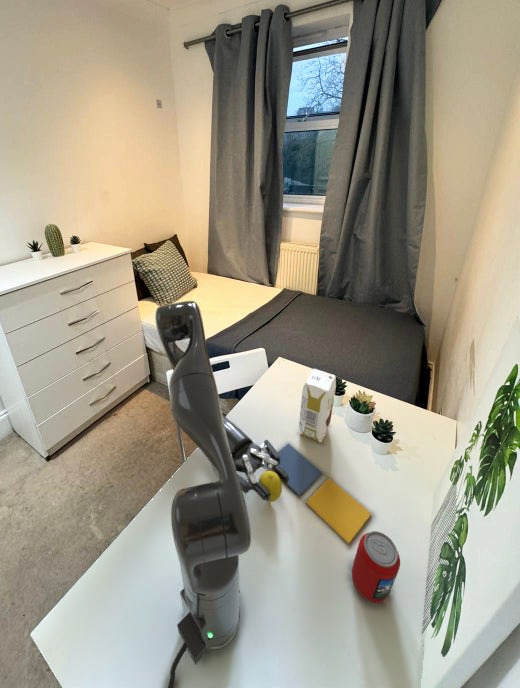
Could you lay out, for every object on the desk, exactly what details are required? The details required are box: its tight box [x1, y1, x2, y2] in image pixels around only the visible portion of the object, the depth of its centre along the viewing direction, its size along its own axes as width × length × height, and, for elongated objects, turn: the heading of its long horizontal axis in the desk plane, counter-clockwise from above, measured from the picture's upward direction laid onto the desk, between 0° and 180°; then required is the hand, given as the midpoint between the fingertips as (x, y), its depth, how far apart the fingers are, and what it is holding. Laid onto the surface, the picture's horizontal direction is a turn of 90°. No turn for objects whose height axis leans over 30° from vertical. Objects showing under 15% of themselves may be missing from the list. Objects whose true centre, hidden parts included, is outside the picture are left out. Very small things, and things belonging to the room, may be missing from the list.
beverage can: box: [351, 530, 401, 604], centre depth 60 cm, size 7×7×12 cm
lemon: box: [258, 470, 283, 503], centre depth 76 cm, size 6×6×8 cm
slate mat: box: [273, 443, 323, 497], centre depth 84 cm, size 9×11×1 cm
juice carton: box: [298, 368, 337, 443], centre depth 91 cm, size 8×9×19 cm
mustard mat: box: [305, 477, 372, 545], centre depth 75 cm, size 9×11×1 cm
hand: (278, 488), depth 73 cm, fingers closed on lemon, 5 cm apart
